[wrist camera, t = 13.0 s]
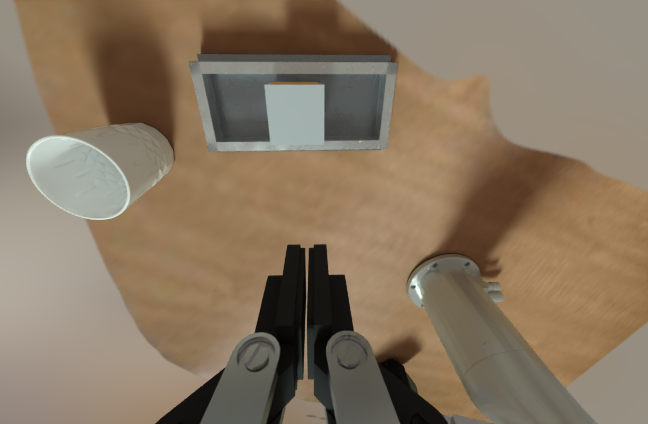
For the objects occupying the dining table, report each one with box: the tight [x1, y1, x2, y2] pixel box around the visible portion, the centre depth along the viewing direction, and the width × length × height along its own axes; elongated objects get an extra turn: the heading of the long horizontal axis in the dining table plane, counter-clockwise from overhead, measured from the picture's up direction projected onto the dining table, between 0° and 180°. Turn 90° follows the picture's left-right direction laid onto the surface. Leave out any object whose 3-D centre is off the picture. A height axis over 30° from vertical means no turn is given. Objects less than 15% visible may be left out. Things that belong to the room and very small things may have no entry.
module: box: [264, 82, 324, 145], centre depth 25 cm, size 5×5×7 cm
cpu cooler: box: [381, 359, 418, 394], centre depth 53 cm, size 10×6×10 cm, turn 132°
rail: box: [189, 54, 398, 152], centre depth 27 cm, size 20×10×4 cm, turn 90°
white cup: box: [26, 123, 174, 220], centre depth 26 cm, size 8×8×10 cm
